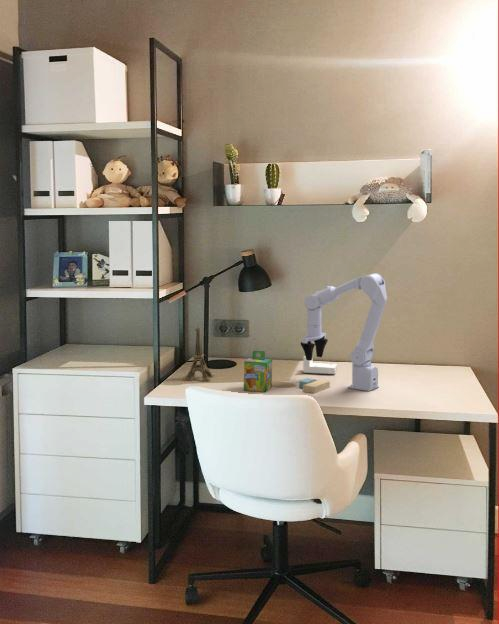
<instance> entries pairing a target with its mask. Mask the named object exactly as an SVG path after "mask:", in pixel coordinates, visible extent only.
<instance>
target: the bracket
mask: <svg viewBox="0 0 499 624" xmlns="http://www.w3.org/2000/svg"><path fill="white" fill-rule="evenodd" d="M313 355H314V354H313ZM313 355H312V360H311V361H310V360H306V356H303V358H302V359H303V362H302V363H303V365H302V366H303V368H302V369H303V373H307V374H325V375H327V374H328V375H335V374H337V372H338V364H337V363H320V362H319V363H317V362H313Z"/></svg>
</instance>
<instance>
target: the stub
mask: <svg viewBox="0 0 499 624" xmlns="http://www.w3.org/2000/svg"><path fill="white" fill-rule="evenodd" d="M316 380H317V379H313V378H309V377H307V378H304V379H301V380H299V382H298V388H302V389H303V385H305V384H308V383H311V382H313V381H316Z"/></svg>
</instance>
